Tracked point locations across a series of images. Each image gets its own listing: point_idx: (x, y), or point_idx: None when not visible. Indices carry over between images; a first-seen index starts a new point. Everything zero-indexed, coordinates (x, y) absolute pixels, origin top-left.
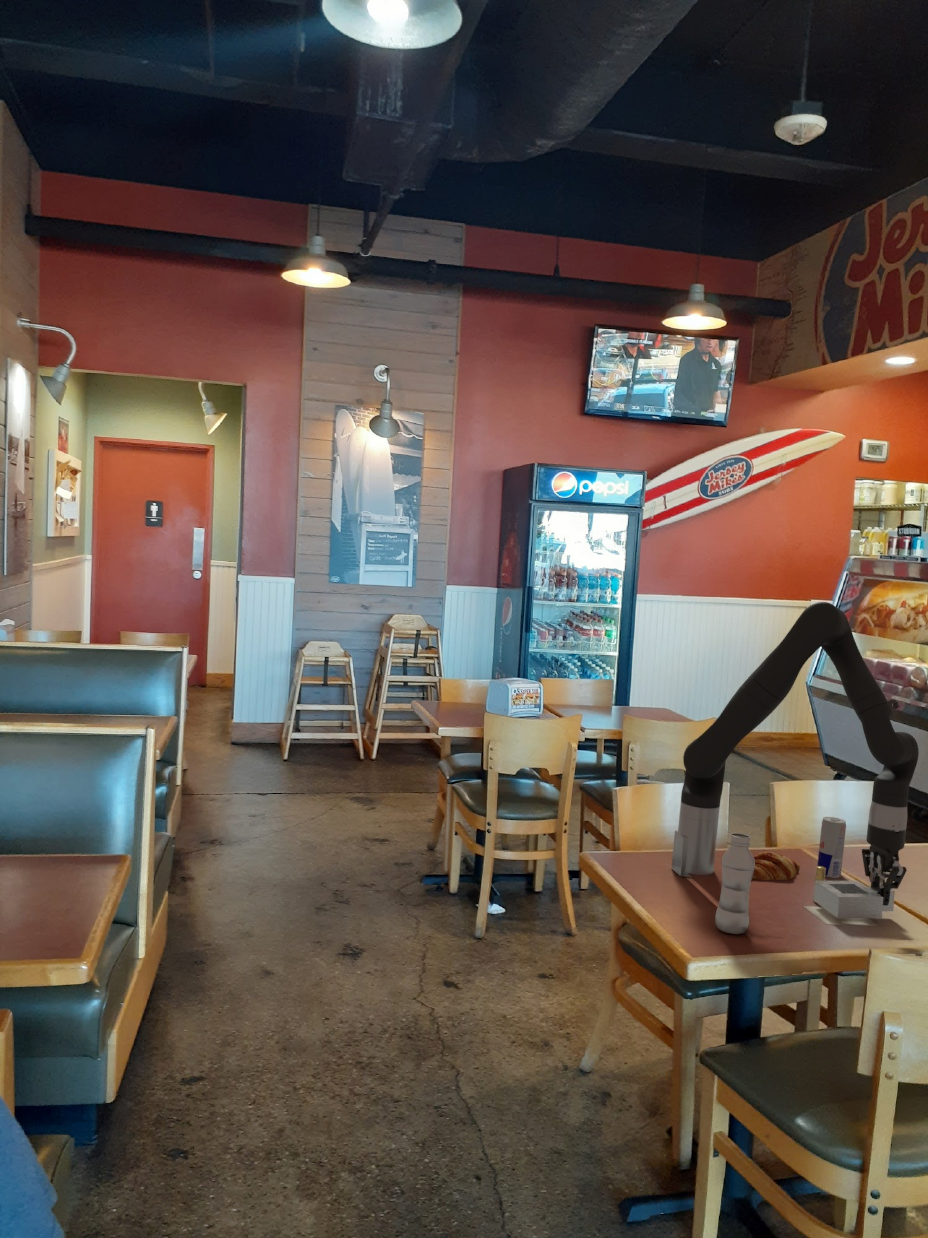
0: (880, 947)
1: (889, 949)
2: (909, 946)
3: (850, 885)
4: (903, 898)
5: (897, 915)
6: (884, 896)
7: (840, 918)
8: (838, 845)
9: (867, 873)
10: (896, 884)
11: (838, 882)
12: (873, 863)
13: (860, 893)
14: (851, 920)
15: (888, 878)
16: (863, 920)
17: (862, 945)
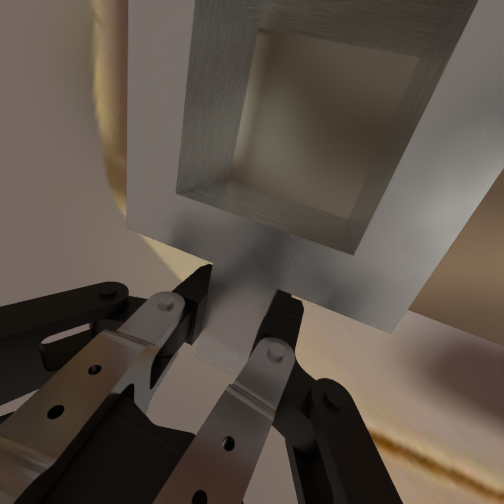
0: (109, 79)
1: (99, 101)
2: (123, 191)
3: (365, 228)
4: (399, 484)
5: (306, 362)
6: (187, 282)
7: (290, 65)
8: None
9: (322, 400)
10: (86, 338)
11: (451, 149)
12: (166, 481)
13: (273, 216)
14: (259, 109)
15: (38, 320)
16: (250, 170)
17: (118, 8)
